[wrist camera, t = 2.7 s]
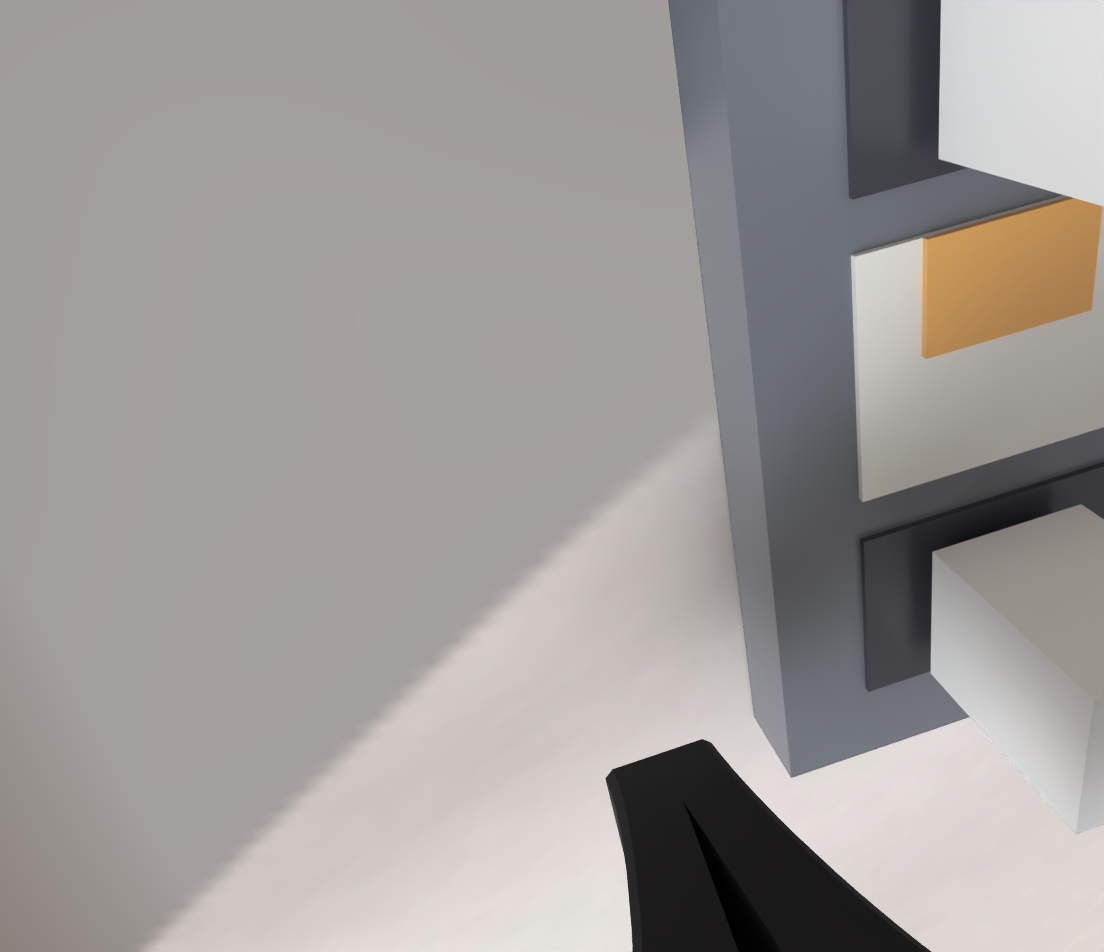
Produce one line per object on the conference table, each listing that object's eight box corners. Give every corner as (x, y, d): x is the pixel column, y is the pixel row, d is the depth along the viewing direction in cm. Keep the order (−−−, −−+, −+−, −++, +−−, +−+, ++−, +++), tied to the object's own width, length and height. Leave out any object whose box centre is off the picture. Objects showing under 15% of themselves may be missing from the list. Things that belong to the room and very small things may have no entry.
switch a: (1081, 503, 14) (1276, 636, 11) (1066, 627, 15) (1239, 775, 12) (932, 552, 13) (1094, 699, 11) (930, 673, 15) (1075, 834, 12)
